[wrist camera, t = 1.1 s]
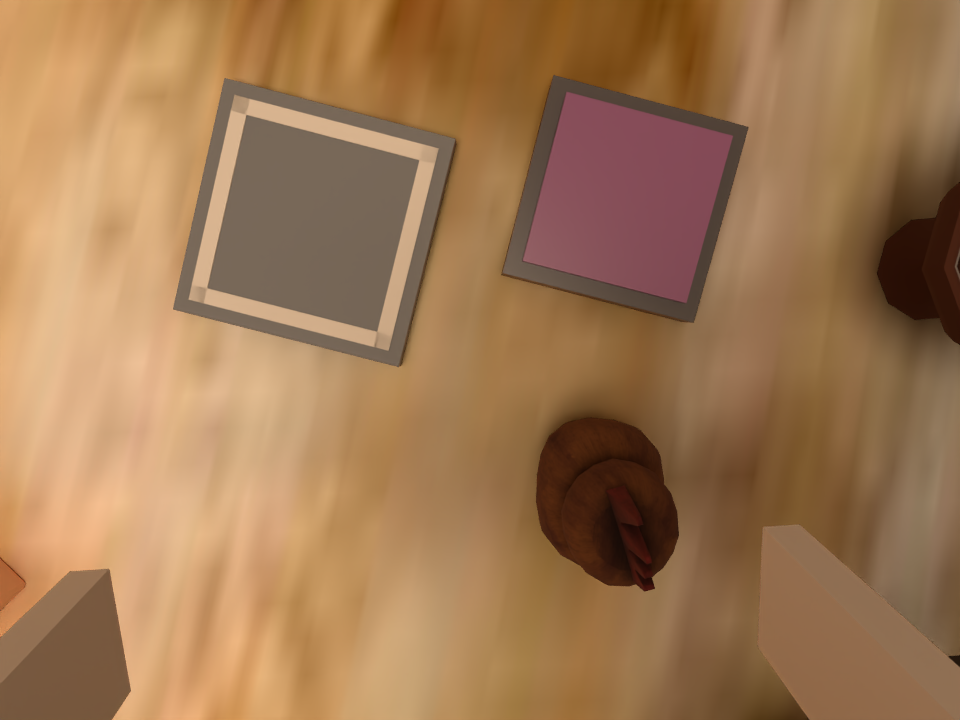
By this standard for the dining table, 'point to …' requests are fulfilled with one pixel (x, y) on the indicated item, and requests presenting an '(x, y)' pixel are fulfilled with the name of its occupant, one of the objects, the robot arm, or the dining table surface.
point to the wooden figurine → (606, 501)
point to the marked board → (313, 223)
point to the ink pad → (623, 200)
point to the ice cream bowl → (926, 267)
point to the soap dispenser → (9, 584)
